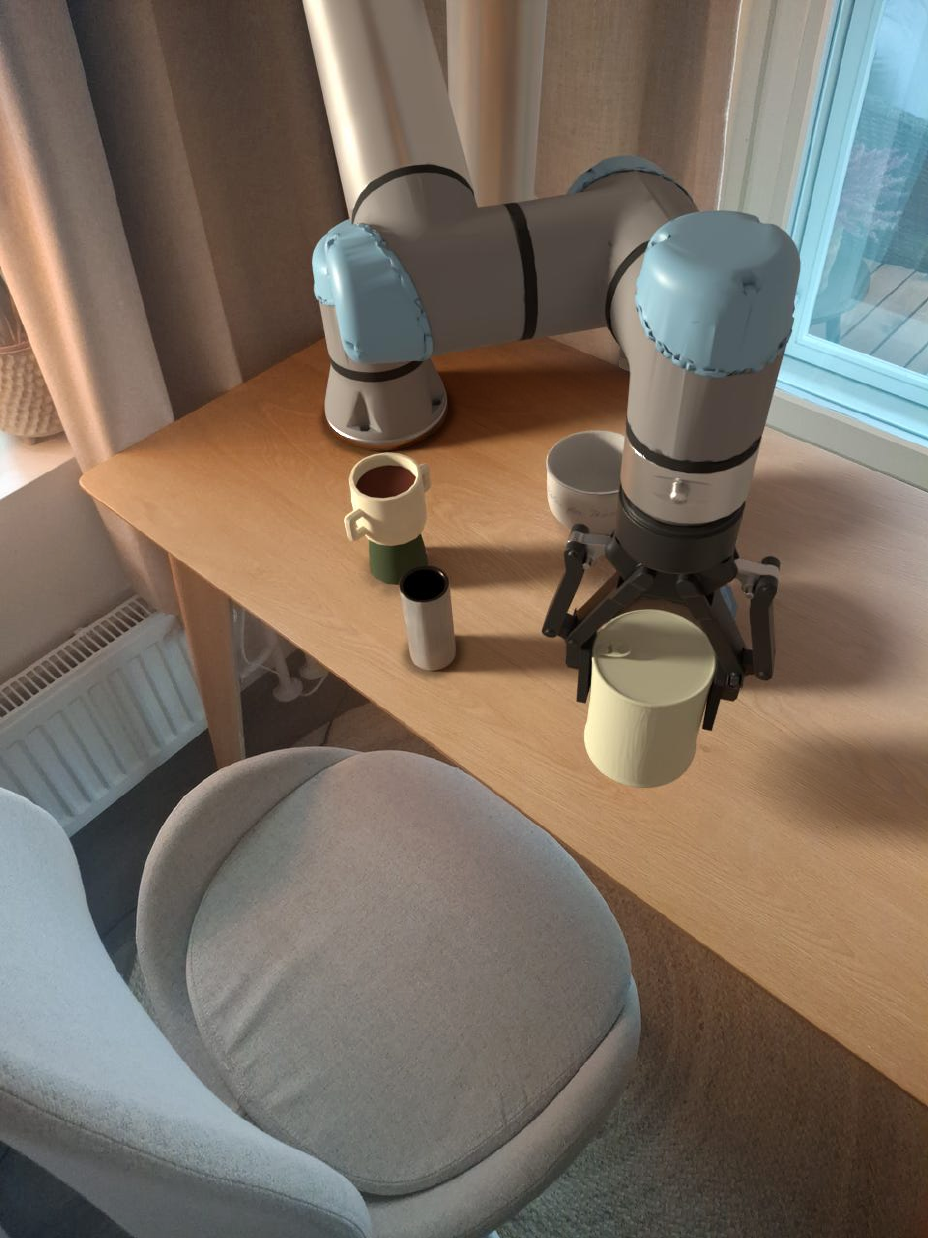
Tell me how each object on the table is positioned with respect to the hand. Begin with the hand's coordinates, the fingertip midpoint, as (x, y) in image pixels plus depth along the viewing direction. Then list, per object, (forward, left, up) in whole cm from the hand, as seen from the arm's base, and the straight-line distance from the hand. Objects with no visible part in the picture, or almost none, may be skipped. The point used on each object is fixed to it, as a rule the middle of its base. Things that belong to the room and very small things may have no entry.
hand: (645, 702), depth 72 cm
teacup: (-28, +16, -11) cm, 33 cm away
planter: (-21, -9, -11) cm, 25 cm away
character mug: (-33, -7, -11) cm, 35 cm away
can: (0, 0, -6) cm, 6 cm away
